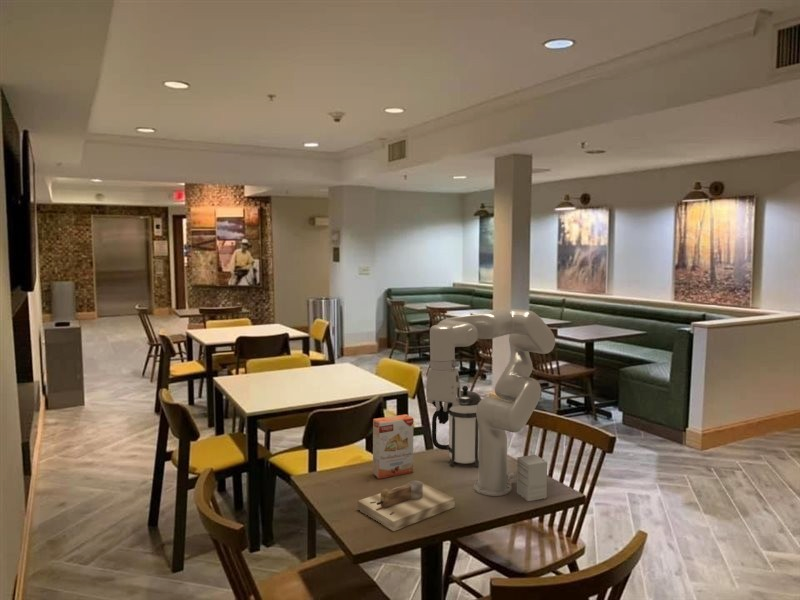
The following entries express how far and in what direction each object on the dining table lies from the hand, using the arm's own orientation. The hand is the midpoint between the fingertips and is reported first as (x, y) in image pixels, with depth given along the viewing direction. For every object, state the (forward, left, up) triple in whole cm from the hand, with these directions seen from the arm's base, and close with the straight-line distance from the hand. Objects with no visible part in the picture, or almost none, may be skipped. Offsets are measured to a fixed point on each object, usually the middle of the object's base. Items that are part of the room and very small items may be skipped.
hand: (443, 422), depth 184 cm
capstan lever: (+11, -8, -25) cm, 29 cm away
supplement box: (-30, +11, -29) cm, 43 cm away
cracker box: (-6, -33, -29) cm, 44 cm away
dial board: (+8, -8, -28) cm, 31 cm away
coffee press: (-33, -25, -29) cm, 50 cm away
